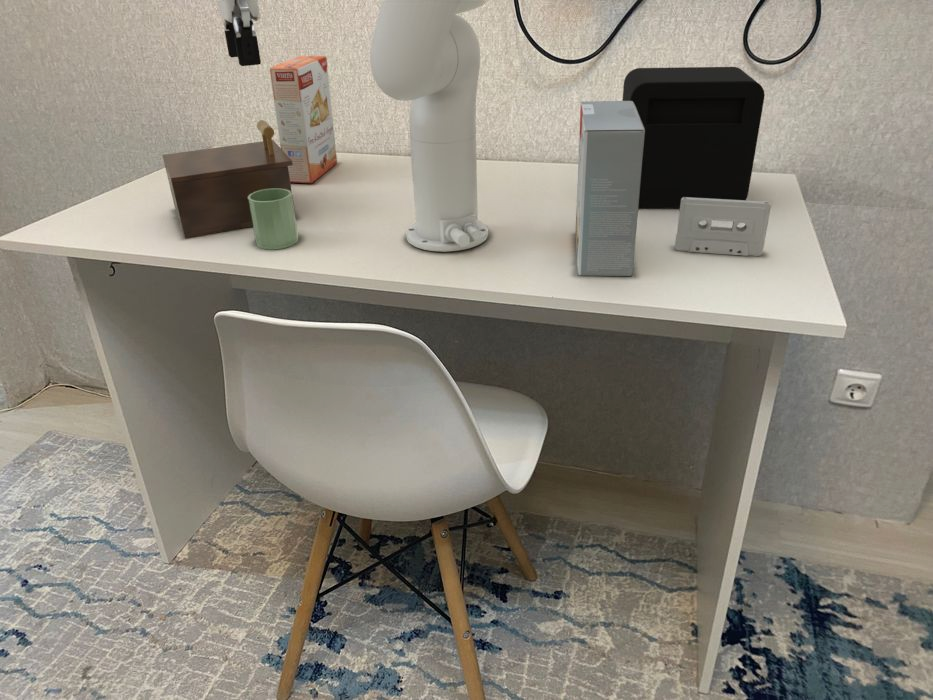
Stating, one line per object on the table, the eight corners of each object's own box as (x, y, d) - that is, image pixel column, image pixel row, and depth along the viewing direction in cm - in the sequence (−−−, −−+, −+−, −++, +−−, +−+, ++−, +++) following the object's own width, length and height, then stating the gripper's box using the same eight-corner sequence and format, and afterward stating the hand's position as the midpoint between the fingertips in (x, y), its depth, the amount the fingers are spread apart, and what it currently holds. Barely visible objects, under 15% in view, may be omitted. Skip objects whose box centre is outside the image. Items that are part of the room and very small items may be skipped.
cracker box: (314, 184, 139) (298, 67, 128) (284, 183, 140) (266, 67, 130) (340, 163, 151) (327, 54, 140) (312, 162, 152) (297, 54, 141)
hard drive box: (574, 234, 113) (580, 100, 103) (624, 234, 113) (635, 99, 103) (576, 276, 100) (584, 127, 90) (634, 277, 99) (648, 127, 89)
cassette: (761, 252, 105) (771, 200, 101) (762, 257, 104) (772, 205, 100) (674, 246, 108) (680, 195, 104) (674, 251, 107) (680, 200, 103)
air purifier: (728, 181, 133) (746, 64, 123) (747, 209, 121) (768, 81, 111) (615, 181, 135) (623, 66, 125) (621, 208, 123) (631, 82, 113)
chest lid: (273, 144, 130) (268, 113, 128) (292, 165, 119) (287, 131, 116) (163, 159, 124) (155, 126, 121) (171, 183, 112) (163, 147, 110)
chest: (277, 194, 135) (269, 145, 130) (296, 219, 123) (288, 166, 119) (175, 210, 129) (163, 159, 124) (184, 238, 117) (171, 183, 112)
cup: (302, 244, 113) (295, 197, 109) (260, 252, 111) (252, 204, 107) (293, 231, 118) (286, 185, 114) (253, 238, 116) (244, 192, 112)
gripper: (260, -64, 103) (280, 66, 111) (239, -65, 116) (258, 51, 125) (205, -62, 100) (229, 71, 109) (190, -63, 114) (212, 55, 122)
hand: (244, 60), depth 117 cm, fingers open, 9 cm apart
